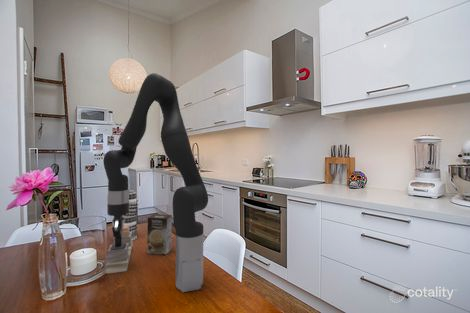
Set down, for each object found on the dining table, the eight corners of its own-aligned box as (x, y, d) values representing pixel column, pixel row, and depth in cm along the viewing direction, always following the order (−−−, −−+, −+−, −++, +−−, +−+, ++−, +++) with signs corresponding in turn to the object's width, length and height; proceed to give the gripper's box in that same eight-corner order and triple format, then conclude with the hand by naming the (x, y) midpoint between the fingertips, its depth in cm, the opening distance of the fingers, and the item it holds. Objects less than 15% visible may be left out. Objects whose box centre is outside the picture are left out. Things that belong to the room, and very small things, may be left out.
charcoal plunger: (123, 259, 89) (123, 247, 89) (111, 261, 87) (111, 248, 87) (125, 254, 93) (125, 243, 93) (113, 256, 92) (113, 244, 92)
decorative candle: (119, 236, 123) (119, 188, 122) (138, 234, 125) (138, 188, 125) (116, 242, 114) (116, 191, 114) (136, 240, 117) (136, 191, 116)
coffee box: (146, 254, 101) (146, 217, 101) (153, 248, 108) (153, 213, 107) (166, 255, 100) (166, 218, 100) (172, 249, 107) (172, 214, 106)
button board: (126, 270, 87) (126, 250, 87) (105, 273, 84) (105, 253, 84) (132, 246, 109) (132, 230, 109) (115, 248, 107) (115, 232, 107)
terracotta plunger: (127, 238, 102) (127, 228, 102) (116, 239, 101) (116, 229, 100) (128, 235, 106) (128, 225, 106) (118, 236, 105) (118, 226, 105)
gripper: (127, 204, 85) (127, 251, 85) (130, 197, 97) (130, 238, 98) (104, 206, 82) (104, 254, 83) (110, 198, 95) (110, 240, 95)
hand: (118, 245), depth 90 cm, fingers closed
